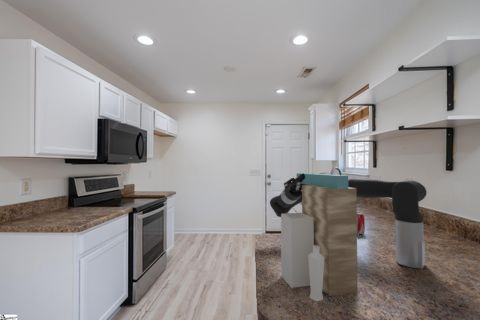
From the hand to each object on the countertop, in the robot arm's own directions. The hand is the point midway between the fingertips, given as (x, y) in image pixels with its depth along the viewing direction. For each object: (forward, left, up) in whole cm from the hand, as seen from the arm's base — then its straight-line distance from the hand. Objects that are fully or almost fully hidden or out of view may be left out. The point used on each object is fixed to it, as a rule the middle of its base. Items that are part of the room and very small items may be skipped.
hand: (309, 175), depth 91 cm
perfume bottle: (-12, +18, -36) cm, 42 cm away
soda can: (+4, -62, -36) cm, 72 cm away
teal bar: (-6, +3, -3) cm, 7 cm away
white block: (-3, +13, -35) cm, 38 cm away
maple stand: (-10, +6, -35) cm, 37 cm away
